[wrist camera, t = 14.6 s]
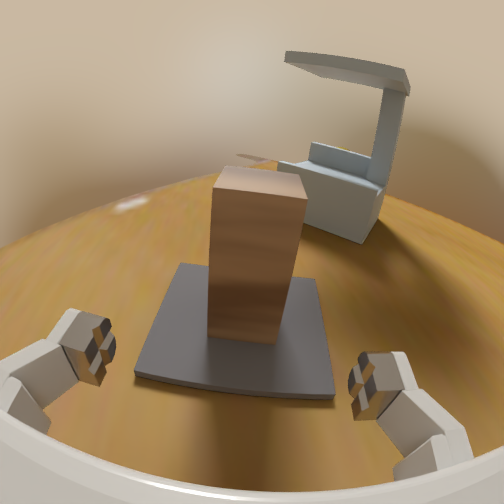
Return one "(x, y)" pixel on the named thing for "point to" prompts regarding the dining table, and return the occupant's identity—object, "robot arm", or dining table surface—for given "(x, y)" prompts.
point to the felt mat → (238, 345)
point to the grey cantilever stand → (346, 162)
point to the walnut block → (252, 251)
